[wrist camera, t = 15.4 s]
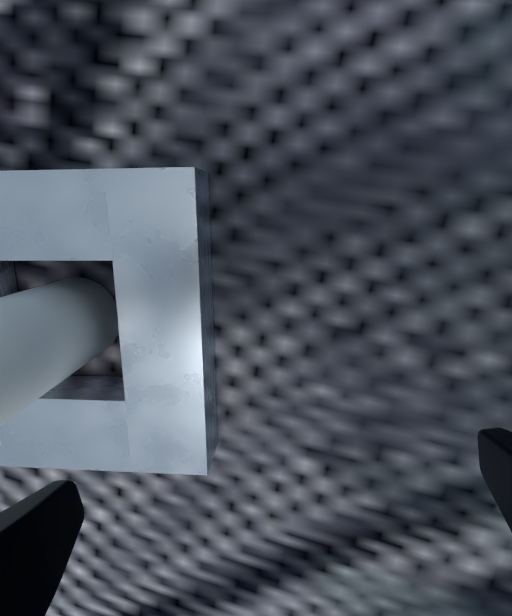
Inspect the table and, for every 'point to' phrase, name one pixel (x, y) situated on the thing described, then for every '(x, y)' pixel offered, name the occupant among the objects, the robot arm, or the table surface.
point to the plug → (50, 337)
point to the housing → (122, 318)
